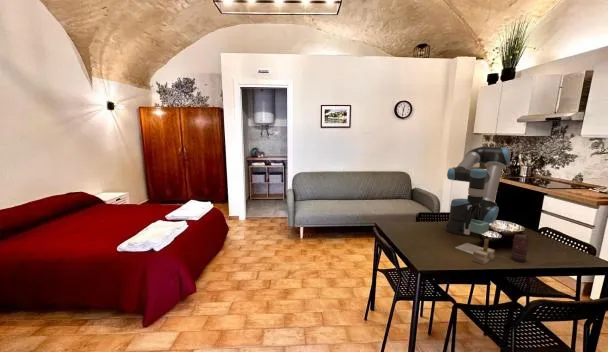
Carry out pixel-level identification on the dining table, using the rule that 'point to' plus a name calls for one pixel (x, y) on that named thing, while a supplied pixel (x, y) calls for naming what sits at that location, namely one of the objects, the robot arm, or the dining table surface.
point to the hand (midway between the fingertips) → (470, 232)
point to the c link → (478, 226)
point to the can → (520, 247)
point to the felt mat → (468, 248)
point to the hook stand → (483, 254)
